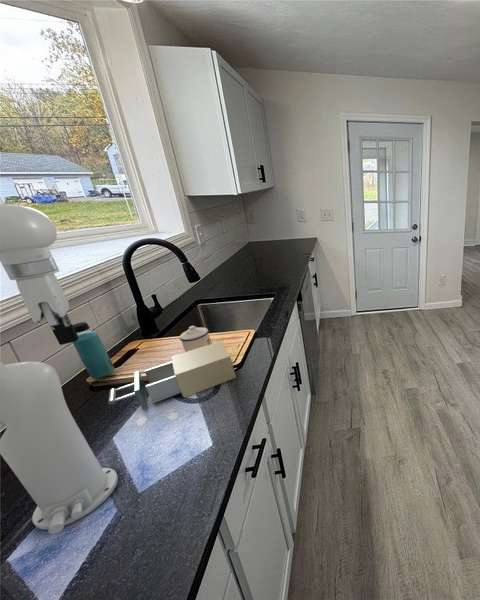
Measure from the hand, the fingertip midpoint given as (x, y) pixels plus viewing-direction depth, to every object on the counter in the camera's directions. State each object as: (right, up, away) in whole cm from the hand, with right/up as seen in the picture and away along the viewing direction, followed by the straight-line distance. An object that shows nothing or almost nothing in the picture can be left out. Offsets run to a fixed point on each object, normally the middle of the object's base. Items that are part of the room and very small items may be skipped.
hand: (69, 341), depth 76 cm
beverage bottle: (-20, -16, +31) cm, 40 cm away
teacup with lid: (+5, -10, +42) cm, 43 cm away
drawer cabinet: (+17, -15, +27) cm, 35 cm away
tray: (+7, -18, +19) cm, 27 cm away
